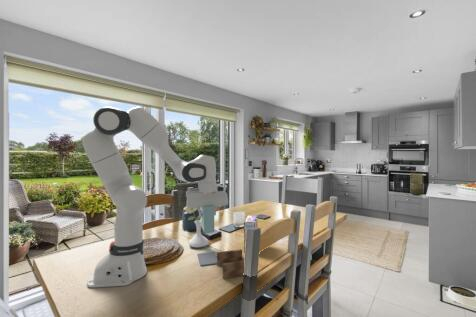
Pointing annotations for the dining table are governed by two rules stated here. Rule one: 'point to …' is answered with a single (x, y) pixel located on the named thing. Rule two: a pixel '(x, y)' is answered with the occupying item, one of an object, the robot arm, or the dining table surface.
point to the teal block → (207, 218)
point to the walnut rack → (231, 263)
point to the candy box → (249, 225)
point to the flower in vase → (198, 238)
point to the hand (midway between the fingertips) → (207, 215)
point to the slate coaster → (207, 258)
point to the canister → (189, 224)
